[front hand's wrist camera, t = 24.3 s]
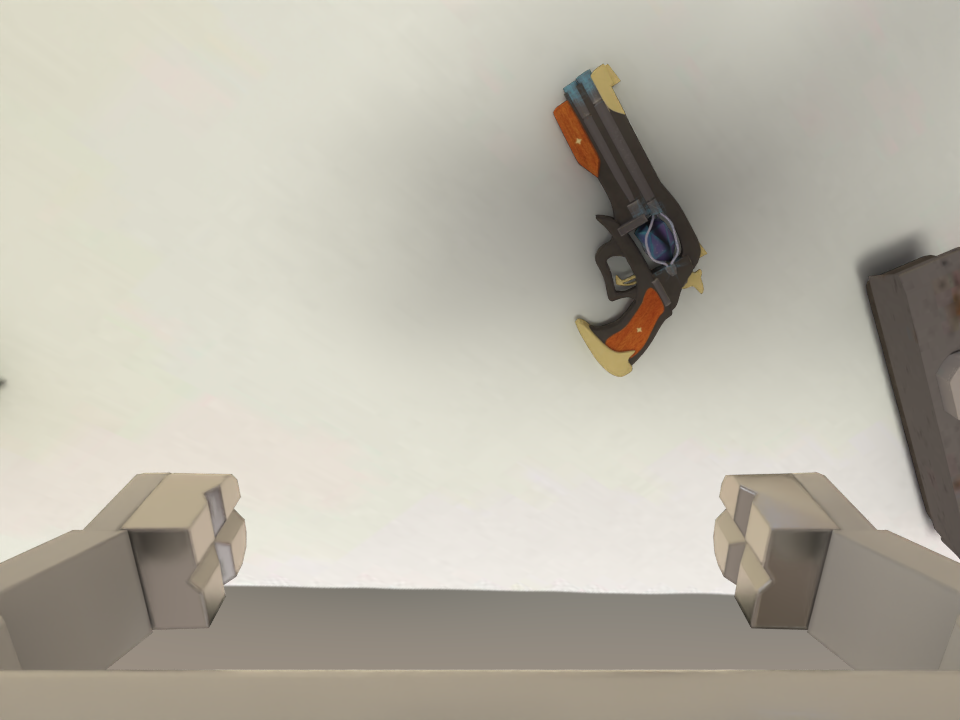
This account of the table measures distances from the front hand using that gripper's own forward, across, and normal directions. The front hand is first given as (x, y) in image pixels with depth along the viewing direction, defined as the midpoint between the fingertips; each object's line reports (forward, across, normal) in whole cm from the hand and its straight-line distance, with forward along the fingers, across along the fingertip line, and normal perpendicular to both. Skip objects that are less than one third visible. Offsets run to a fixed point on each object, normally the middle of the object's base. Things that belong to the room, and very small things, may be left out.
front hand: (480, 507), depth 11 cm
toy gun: (+34, +9, -1) cm, 35 cm away
